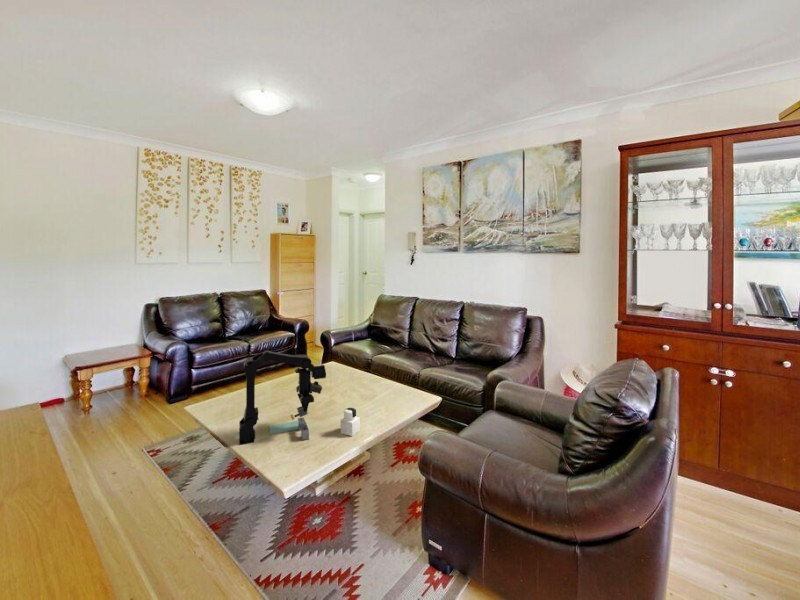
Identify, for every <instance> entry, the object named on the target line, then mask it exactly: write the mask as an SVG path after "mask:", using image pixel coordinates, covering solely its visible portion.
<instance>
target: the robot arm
mask: <svg viewBox="0 0 800 600" xmlns="http://www.w3.org/2000/svg"><path fill="white" fill-rule="evenodd" d="M268 361H272V362H279V363H284V364H289V365H290V364H291V365H294V366H296V367H297V368H295V369H294V372H295V374H298V385H297V386H296V387H295V391H296V393H297V396H298V399H299V401H300V404H301V406H302V407H303V409H304V412H307V413H308V411H307V409H308V408H309V405H310V404H311V403H314V402H315V396H314V395H313V393H315V394H318V395H320V394H321V393H322V390H323V387H322V385H321V384H319V381H316V380H320V379H321V380H322V379H326V378H327V372H326V366H325V364H321V365H314V363H312V360H311V358H310V357H309V356H308V355H307V354H287V353H282V352H275V351H272V350H271V351H270V350H268V349H267V350H264V351H262V352H261V353H258V354H256V355H254V356H252V357H248V358H247V359H245V360H244V362H243V368H244V375H245V378H246V379H245V382H246V383H245V385H246V386H245V388H246V389H245V390H246V394H245V395H246V396H245V397H246V399H245V409H244V412H243V416H242V418H241V420H239V422H238V423H239V424H238V425H239V428H238V434H239V436H238V437H239V439H238V440H239V445H245V444H251V443H255V439H256V429H255V428H254V427H255V426H256V425H257V423H258V421H259V407H255V399H256V398H255V396H256V395H255V392H256V391H255V389H256V388H255V385H256V384H255V379H256V376H257V372H258V371H257V370H258V369H259V368H260V367H262V366H263V365H264V364H265V363H266V362H268ZM311 378H313V379H314V380H315V381H313V382H312V381H311V380H312V379H311ZM308 410H309V409H308Z"/></svg>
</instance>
